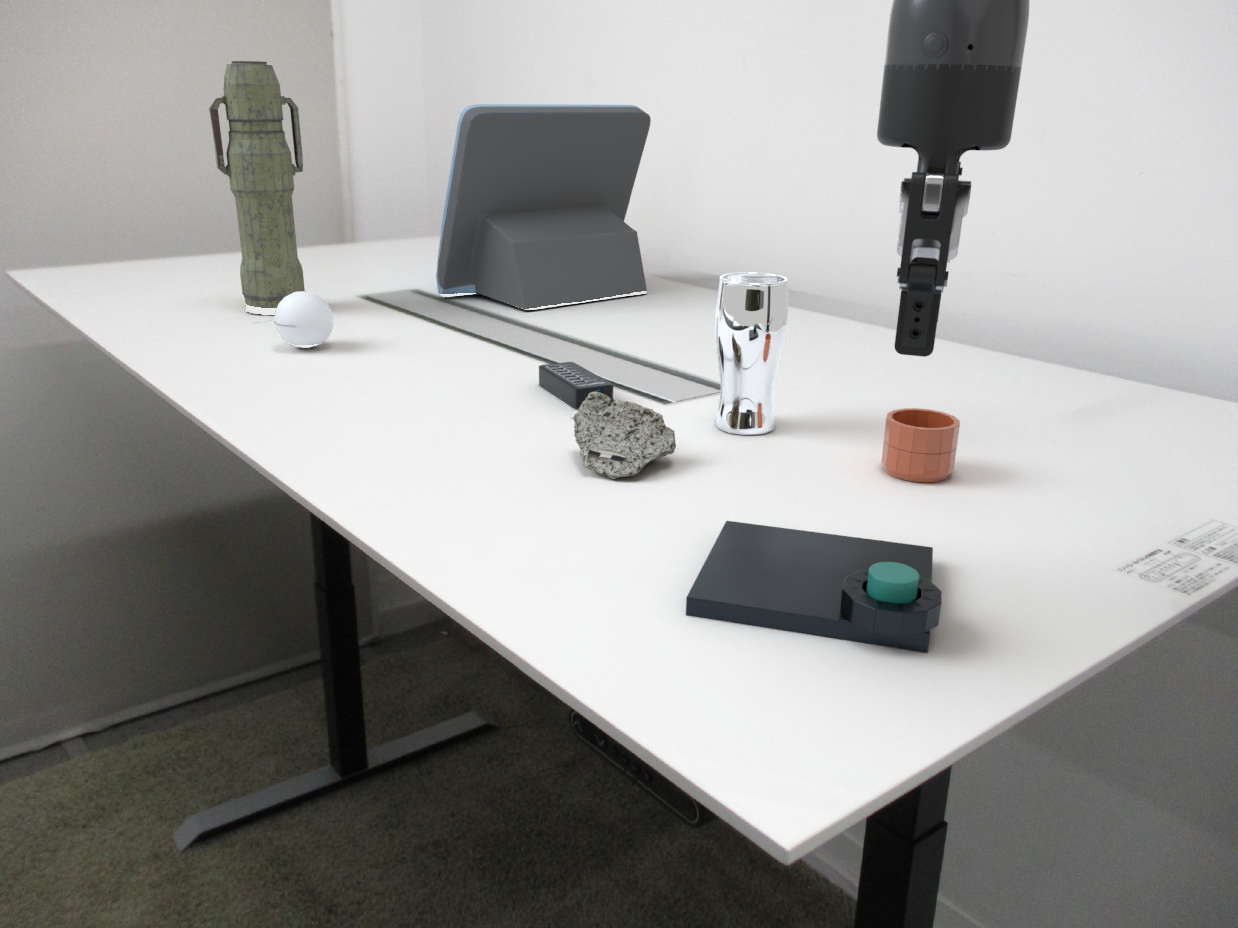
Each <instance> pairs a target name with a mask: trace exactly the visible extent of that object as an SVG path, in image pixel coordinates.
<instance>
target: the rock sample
mask: <svg viewBox="0 0 1238 928" xmlns="http://www.w3.org/2000/svg"><path fill="white" fill-rule="evenodd" d="M612 394H613V395H614V392H613V393H612ZM611 397H612V396H611ZM585 399H586V400H585V401H583V402H582V405H581V406H580V407H579V408H578V409H576V411H577V412H576V413H574V414H573V416H572V417H571V416H570V420H572V421H573V422H574V427H573V431H574V434H573V436H574V437H575V442H576V444H577V445H578V447H579V452H580V453H579V456H580V459H581V460H582V463H583V466H584V467H585V468H587V469H589V470H592V471H594V472H596V473H597V474H599V475H600V476H601V475H602V476H606V477H607V478H609V479H611V480H617V479H618V478H625V477H632V476H637V475H638V474H639V473H640V472H641V471H642V470H643V468H644V467H645V466H646V465H648V463H651V462H653V461H655V460H658V459H661V458H663V457H666V456H667V455H672V454H674V452H675V450H676V449H677V450H679V448H676V447H677V444H676V434H675V430H673V429H672V428H671V427H668V426H667V425H666V424H665V420H664V416H663V415H662V414H661V413H659V412H656V411H654V410H653V408H649V407H646V406H643V405H641V404H638V403H637V402H630V401H627V400H626V401H622V400H620V399H616V400H615V399H614V398H613V399H611V398H609V397H608V395H605V394H602V393H599V392H598V391H597V392H591V393H589V394H588V397H586V398H585Z"/></svg>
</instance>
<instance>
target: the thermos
mask: <svg viewBox="0 0 1238 928" xmlns="http://www.w3.org/2000/svg"><path fill="white" fill-rule="evenodd" d="M223 79H224V81H223V82H224V83H223V89H222V90H223V95H222V97H216V98H214V100H213V102H212V103H211V105H210V106H209V107H208V112H209V117H210V123H211V124H210V125H211V130H212V136H213V137H212V138H213V145H214V153H215V162H216V163H215V164H216V168H217V170H219V171H220V172H221V173H222V174H224V175H225V176H227V177H228V179H229V187H230V191H231V193H232V194H233V196H234V202H235V207H236V208H235V209H236V217H237V225H238V234H239V243H240V252H241V263H240V267H239V269H240V270H239V276H240V285H241V294H242V295H243V297H244V304H245V303H246V304H247V305H249V306H254V307H261V308H277V306H278V304H279V303H280V302H281V301H282V299H283V298H284V297H286V296H288V295H290V294H291V293H293V292H299V291H306V290H305V279H304V270H303V265H302V264H301V262H300V259H299V256H298V246H297V235H296V225H295V215H294V214H295V213H294V206H293V205H294V204H293V194H294V191H295V181H294V176H296V173H302V172H303V171H304V159H303V157H304V156H303V147H302V136H301V125H300V115H299V114H300V113H299V107H298V106H297V104H296V103H295V102H294V100H293V99H292V98H291V97H285V96H284V95H282V93H281V92H282V91H281V85H280V82H279V79H278V76H277V74H276V71H275V68H274V67H273V65H272V64H268V62H267V61H252V60H231V63H229V64H228V63H227V64H226V65H225V71H224V76H223ZM221 104H223V105H224V106H225V113H226V120H227V121H228V127H229V130H228V132H227V133H228V143H227V149H226V154H225V155H226V161H227V165H226V164H225V156H224V149H223V141H222V133H221V125H220V124H221V123H220V115H219V108H220V105H221ZM286 104H287V105H288V107H289V112H290V121H291V133H292V141H293V152H294V163H295V164H294V163H293V161H292V160H293V159H292V151H291V149H290V147H289V145H288V142H287V140H286V134H285V133H286V132H285V130H283V129H284V128H283V121H284V113H283V112H284V111H283V106H284V105H286Z"/></svg>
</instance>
